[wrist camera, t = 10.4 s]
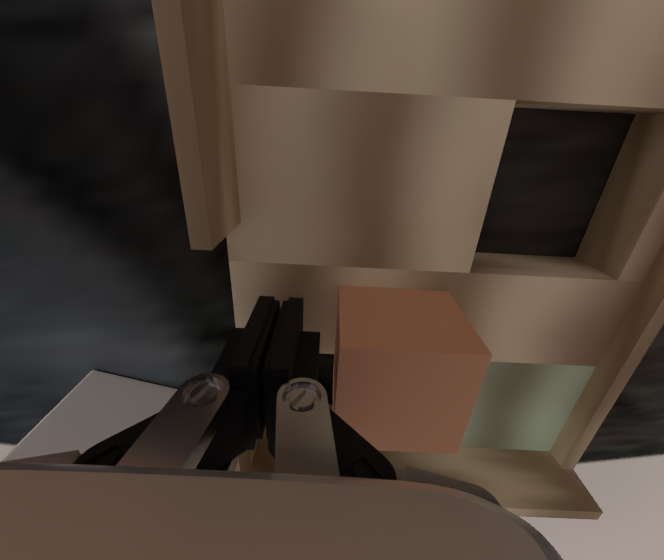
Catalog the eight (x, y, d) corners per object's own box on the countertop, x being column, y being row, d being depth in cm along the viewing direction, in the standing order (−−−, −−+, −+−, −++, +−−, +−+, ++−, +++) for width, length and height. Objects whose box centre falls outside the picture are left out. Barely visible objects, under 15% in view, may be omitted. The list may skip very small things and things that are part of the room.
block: (333, 369, 15) (331, 447, 11) (339, 285, 13) (339, 347, 9) (427, 374, 15) (457, 454, 11) (448, 291, 13) (492, 355, 9)
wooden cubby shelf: (258, 408, 19) (231, 504, 14) (226, -11, 11) (130, -134, 6) (531, 420, 20) (597, 519, 15) (722, 19, 11) (1049, -74, 6)
